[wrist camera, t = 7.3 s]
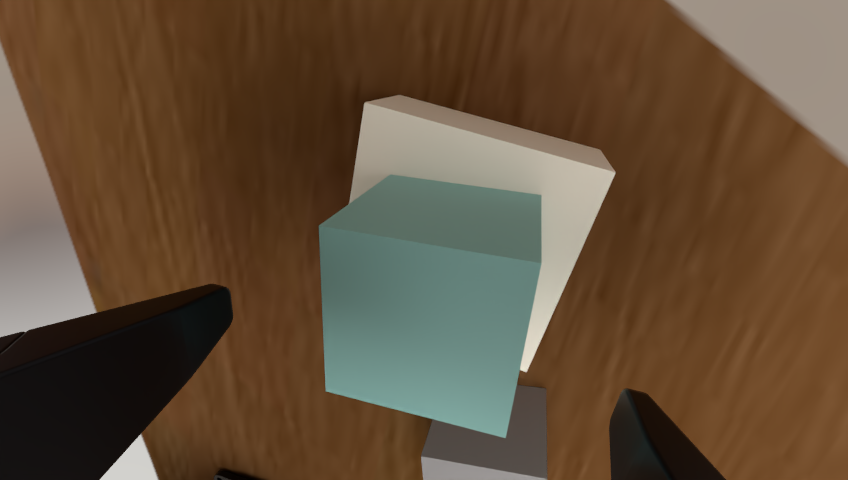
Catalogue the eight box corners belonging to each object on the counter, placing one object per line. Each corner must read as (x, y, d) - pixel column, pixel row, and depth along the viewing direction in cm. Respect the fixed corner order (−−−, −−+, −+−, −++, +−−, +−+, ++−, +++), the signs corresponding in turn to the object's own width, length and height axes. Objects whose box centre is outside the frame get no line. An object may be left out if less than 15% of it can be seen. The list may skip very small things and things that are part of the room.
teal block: (516, 326, 15) (505, 438, 10) (386, 300, 16) (325, 391, 11) (541, 194, 13) (541, 263, 8) (390, 174, 14) (318, 225, 9)
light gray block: (542, 461, 22) (542, 561, 17) (450, 445, 23) (429, 535, 19) (546, 387, 20) (547, 479, 16) (446, 374, 21) (421, 456, 17)
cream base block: (529, 314, 19) (526, 372, 15) (370, 261, 20) (334, 303, 17) (598, 148, 16) (615, 172, 12) (402, 94, 17) (364, 102, 13)
